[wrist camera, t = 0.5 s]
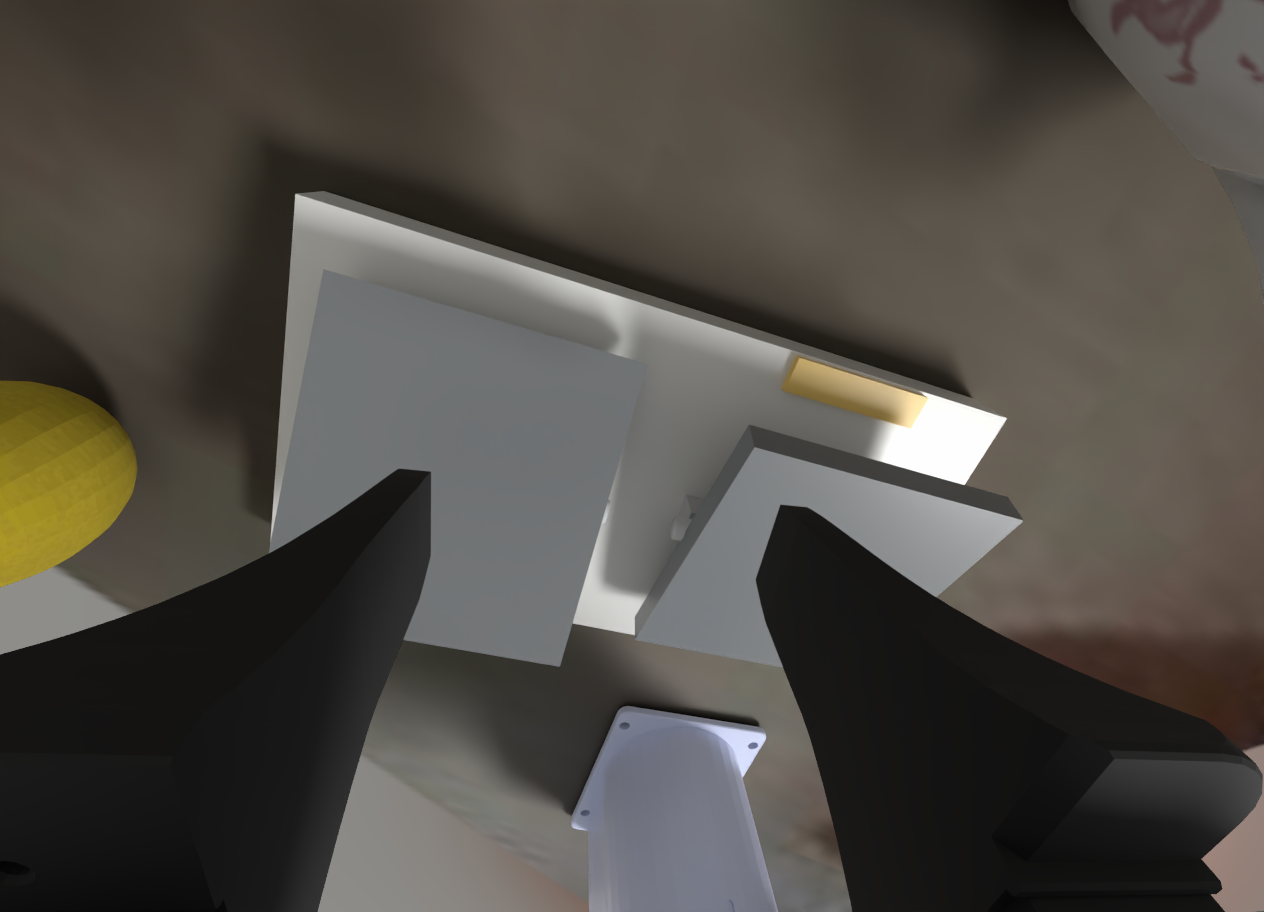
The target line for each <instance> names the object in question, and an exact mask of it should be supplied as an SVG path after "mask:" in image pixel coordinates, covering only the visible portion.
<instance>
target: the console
mask: <svg viewBox="0 0 1264 912" xmlns="http://www.w3.org/2000/svg"><path fill="white" fill-rule="evenodd" d="M323 269H325V270H328V271H331V272H335V273H338V274H342V275H345V276H349V277H352V278H355V279H359V280H362V281H366V282H369V283H372V284H376V285H379V286H383V287H386V288H390V289H393V290H396V291H400V292H403V293H407V294H410V295H413V296H417V297H420V298H424V299H427V300H430V301H434V302H437V303H441V304H444V305H448V306H451V307H454V308H458V309H461V310H465V311H468V312H471V313H475V314H478V315H482V316H485V317H488V318H492V319H495V320H499V321H502V322H506V323H509V324H512V325H516V326H519V327H523V328H526V329H529V330H533V331H536V332H540V333H543V334H547V335H550V336H553V337H557V338H560V339H564V340H567V341H570V342H574V343H577V344H581V345H584V346H587V347H591V348H594V349H598V350H601V351H605V352H608V353H611V354H615V355H618V356H622V357H625V358H628V359H632V360H635V361H639V362H642V363H645V364H648V365H647V368H646V371H645V375H644V378H643V382H642V385H641V389H640V392H639V396H638V399H637V402H636V406H635V409H634V413H633V416H632V420H631V423H630V427H629V430H628V433H627V437H626V440H625V444H624V447H623V451H622V454H621V458H620V461H619V465H618V468H617V471H616V475H615V478H614V482H613V485H612V489H611V492H610V496H609V499H608V500H610V507H609V512H608V516H607V519H606V521H605V523H604V524H603V523H601V527H600V530H599V534H598V537H597V540H596V544H595V547H594V551H593V554H592V558H591V561H590V565H589V568H588V571H587V575H586V578H585V582H584V585H583V589H582V592H581V596H580V599H579V603H578V606H577V609H576V613H575V616H574V620H573V624H579V625H584V626H589V627H595V628H600V629H605V630H611V631H616V632H621V633H626V634H632V635H635V616H636V614H637V612H638V611H639V609H640V607H641V606H642V604H643V602H644V600H645V599H646V597H647V595H648V594H649V592H650V590H651V589H652V587H653V585H654V584H655V582H656V580H657V579H658V577H659V575H660V573H661V572H662V570H663V568H664V567H665V565H666V563H667V562H668V560H669V558H670V557H671V555H672V553H673V552H674V550H675V548H676V547H677V545H678V543H679V541H678V540H673V539H671V538H670V527H671V523H672V520H673V518H674V517H675V516H679V517H683V518H687V519H692V520H693V518H694V516H695V515H696V513H697V511H698V509H699V508H700V506H701V504H702V503H703V501H704V499H705V498H706V496H707V494H708V493H709V491H710V489H711V488H712V486H713V484H714V483H715V481H716V479H717V477H718V476H719V474H720V472H721V471H722V469H723V467H724V466H725V464H726V462H727V461H728V459H729V457H730V456H731V454H732V452H733V451H734V449H735V447H736V445H737V444H738V442H739V440H740V439H741V437H742V435H743V434H744V432H745V430H746V429H747V427H748V425H752V426H756V427H760V428H763V429H767V430H770V431H774V432H777V433H781V434H785V435H788V436H792V437H795V438H799V439H802V440H806V441H809V442H813V443H817V444H820V445H824V446H827V447H831V448H834V449H838V450H842V451H845V452H849V453H852V454H856V455H859V456H863V457H866V458H870V459H874V460H877V461H881V462H884V463H888V464H891V465H895V466H899V467H902V468H906V469H909V470H913V471H916V472H920V473H923V474H927V475H931V476H934V477H938V478H941V479H945V480H948V481H952V482H955V483H959V484H963V485H965V483H966V481H967V480H968V478H969V477H970V475H971V474H972V472H973V471H974V469H975V467H976V466H977V464H978V463H979V461H980V460H981V458H982V457H983V455H984V453H985V452H986V450H987V449H988V447H989V446H990V444H991V443H992V441H993V439H994V438H995V436H996V435H997V433H998V432H999V430H1000V429H1001V427H1002V425H1003V424H1004V422H1005V421H1006V419H1007V418H1006V417H1004V416H1002V415H1001V414H999V413H997V412H995V411H994V410H992V409H990V408H989V407H987V406H985V405H984V404H982V403H980V402H978V401H977V400H975V399H973V398H970V397H967V396H964V395H961V394H958V393H955V392H951V391H948V390H945V389H942V388H939V387H936V386H933V385H930V384H926V383H923V382H920V381H917V380H914V379H911V378H908V377H905V376H901V375H898V374H895V373H892V372H889V371H886V370H883V369H880V368H876V367H873V366H870V365H867V364H864V363H861V362H858V361H854V360H851V359H848V358H845V357H842V356H839V355H836V354H833V353H829V352H826V351H823V350H820V349H817V348H814V347H811V346H808V345H804V344H801V343H798V342H795V341H792V340H789V339H786V338H783V337H779V336H776V335H773V334H770V333H767V332H764V331H761V330H757V329H754V328H751V327H748V326H745V325H742V324H739V323H736V322H732V321H729V320H726V319H723V318H720V317H717V316H714V315H711V314H707V313H704V312H701V311H698V310H695V309H692V308H689V307H686V306H682V305H679V304H676V303H673V302H670V301H667V300H664V299H661V298H657V297H654V296H651V295H648V294H645V293H642V292H639V291H635V290H632V289H629V288H626V287H623V286H620V285H617V284H614V283H610V282H607V281H604V280H601V279H598V278H595V277H592V276H589V275H585V274H582V273H579V272H576V271H573V270H570V269H567V268H564V267H560V266H557V265H554V264H551V263H548V262H545V261H542V260H539V259H535V258H532V257H529V256H526V255H523V254H520V253H517V252H513V251H510V250H507V249H504V248H501V247H498V246H495V245H492V244H488V243H485V242H482V241H479V240H476V239H473V238H470V237H467V236H463V235H460V234H457V233H454V232H451V231H448V230H445V229H442V228H438V227H435V226H432V225H429V224H426V223H423V222H420V221H417V220H413V219H410V218H407V217H404V216H401V215H398V214H395V213H391V212H388V211H385V210H382V209H379V208H376V207H373V206H370V205H366V204H363V203H360V202H357V201H354V200H351V199H348V198H345V197H341V196H338V195H335V194H332V193H329V192H326V191H319V192H308V193H298V194H295V207H294V221H293V235H292V249H291V263H290V277H289V291H288V305H287V318H286V332H285V346H284V360H283V374H282V388H281V402H280V416H279V430H278V444H277V458H276V472H275V485H274V499H273V513H272V527H271V538H272V533H273V528H274V523H275V517H276V512H277V507H278V502H279V497H280V492H281V486H282V481H283V476H284V471H285V466H286V461H287V455H288V450H289V445H290V440H291V435H292V430H293V424H294V419H295V414H296V409H297V404H298V398H299V393H300V388H301V383H302V378H303V373H304V367H305V362H306V357H307V352H308V347H309V342H310V336H311V331H312V326H313V321H314V316H315V311H316V305H317V300H318V295H319V290H320V285H321V280H322V274H323ZM270 543H271V541H270Z"/></svg>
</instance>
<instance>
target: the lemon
mask: <svg viewBox="0 0 1264 912" xmlns="http://www.w3.org/2000/svg"><path fill="white" fill-rule="evenodd" d="M136 476H137V462H136V455H135V450H134V447H133V445H132V443H131V440H130V438H129V436H128V434H127V433H126V431H125V430H124V429H123V427H122V426H121V425H120V423H119V422H118V421H117V420H116V419H115V418H114V417H113V416H111V415H110V414H109V413H108V412H107V411H106V410H105V409H103V408H102V407H100V406H99V405H97V404H96V403H94V402H92V401H91V400H89V399H88V398H85V397H83V396H81V395H78V394H76V393H73V392H71V391H68V390H66V389H63V388H59V387H55V386H50V385H46V384H41V383H36V382H29V381H0V587H3V586H6V585H8V584H11V583H14V582H17V581H20V580H23V579H25V578H28V577H31V576H33V575H36V574H38V573H40V572H43V571H45V570H47V569H49V568H51V567H53V566H55V565H57V564H59V563H61V562H63V561H64V560H66V559H68V558H70V557H71V556H73V555H74V554H76V553H77V552H78V551H80V550H81V549H83V548H84V547H85V546H87V545H88V544H89V543H91V542H92V541H94V540H95V539H96V538H97V537H99V536H100V535H101V534H102V533H104V532H105V531H106V530H107V529H108V528H109V527H110V526H111V525H112V523H113V522H114V521H115V520H116V519H117V517H118V516H119V514H120V513H121V511H122V510H123V508H124V507H125V505H126V504H127V502H128V501H129V499H130V497H131V495H132V493H133V490H134V485H135V481H136Z"/></svg>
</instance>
